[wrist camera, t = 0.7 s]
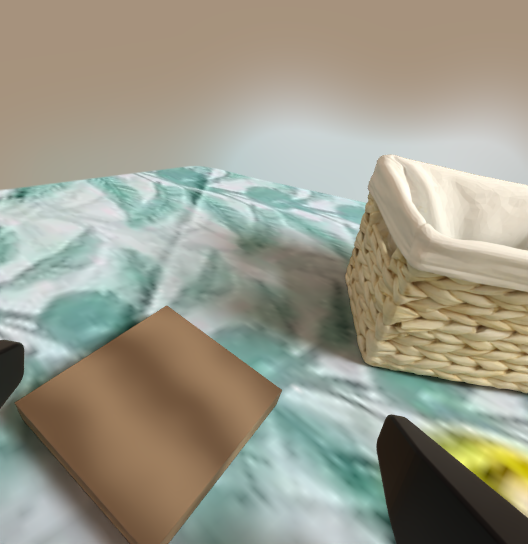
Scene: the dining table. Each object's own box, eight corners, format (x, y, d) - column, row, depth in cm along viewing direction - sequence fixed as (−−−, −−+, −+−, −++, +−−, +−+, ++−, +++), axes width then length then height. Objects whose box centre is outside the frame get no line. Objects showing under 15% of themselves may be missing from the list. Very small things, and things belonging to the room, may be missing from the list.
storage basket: (345, 372, 30) (425, 231, 21) (330, 263, 43) (376, 147, 34) (596, 418, 31) (772, 304, 22) (508, 299, 44) (598, 197, 35)
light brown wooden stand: (150, 566, 18) (149, 556, 16) (22, 419, 22) (14, 402, 21) (276, 404, 26) (282, 390, 25) (166, 321, 30) (166, 305, 29)
